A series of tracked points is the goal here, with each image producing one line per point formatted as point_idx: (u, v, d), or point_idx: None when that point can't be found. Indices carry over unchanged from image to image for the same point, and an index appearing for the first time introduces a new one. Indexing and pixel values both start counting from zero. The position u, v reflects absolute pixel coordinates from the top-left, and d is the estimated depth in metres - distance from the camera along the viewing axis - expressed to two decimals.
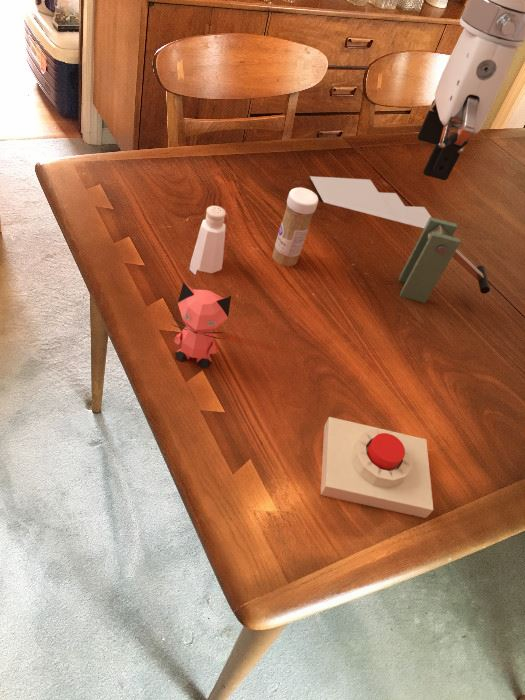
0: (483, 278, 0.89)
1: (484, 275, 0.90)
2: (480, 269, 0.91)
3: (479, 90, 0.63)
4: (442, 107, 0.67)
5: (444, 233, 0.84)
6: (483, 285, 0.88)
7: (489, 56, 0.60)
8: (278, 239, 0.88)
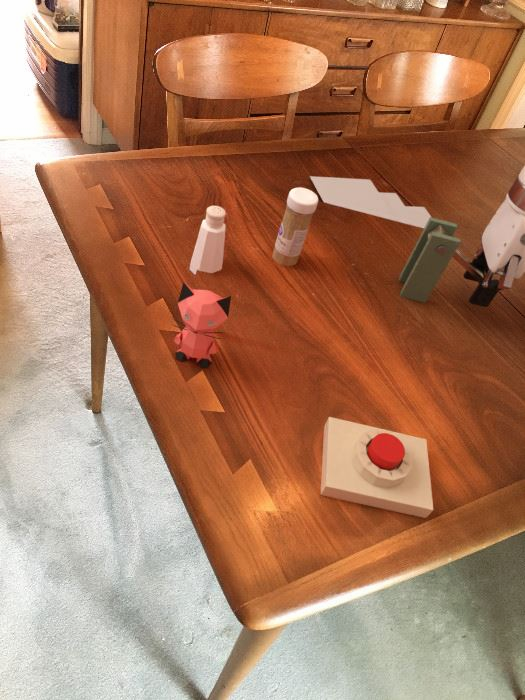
0: (483, 278, 0.89)
1: (484, 275, 0.90)
2: (480, 269, 0.91)
3: (522, 252, 0.80)
4: (490, 257, 0.84)
5: (444, 233, 0.84)
6: None
7: None
8: (278, 239, 0.88)
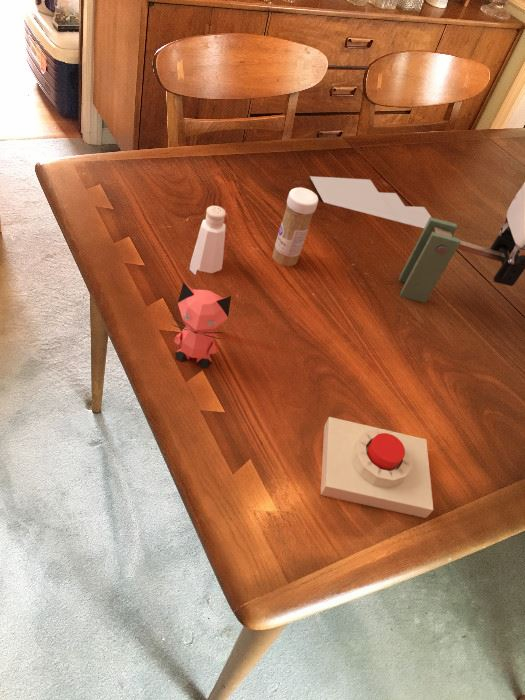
0: (504, 257, 0.86)
1: (505, 254, 0.86)
2: (501, 249, 0.87)
3: None
4: (517, 232, 0.80)
5: (440, 233, 0.84)
6: None
7: None
8: (278, 239, 0.88)
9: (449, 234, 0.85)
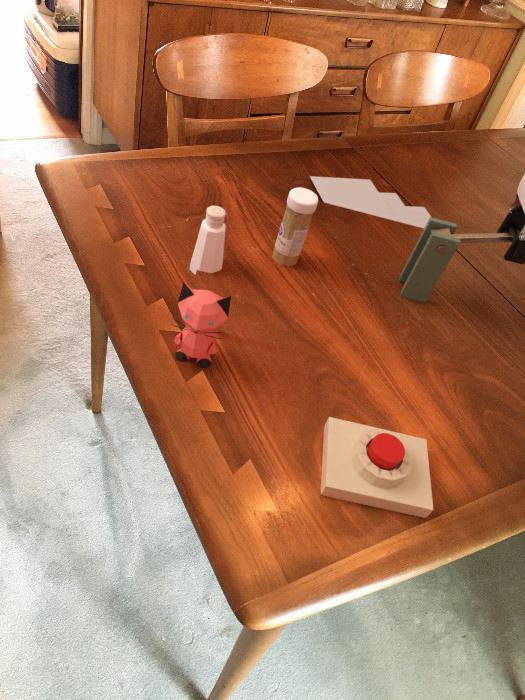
0: (512, 237, 0.83)
1: (513, 233, 0.83)
2: (509, 229, 0.85)
3: None
4: None
5: None
6: None
7: None
8: (278, 239, 0.88)
9: (447, 232, 0.84)
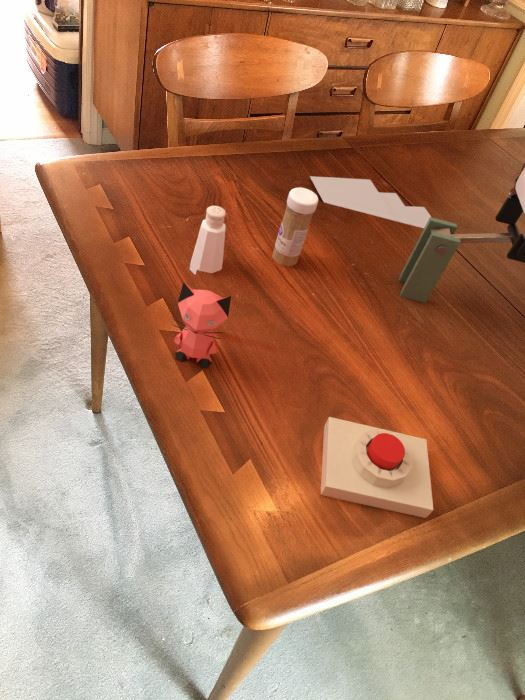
0: (512, 237, 0.83)
1: (513, 233, 0.83)
2: (509, 229, 0.85)
3: None
4: None
5: None
6: None
7: None
8: (278, 239, 0.88)
9: (447, 232, 0.84)
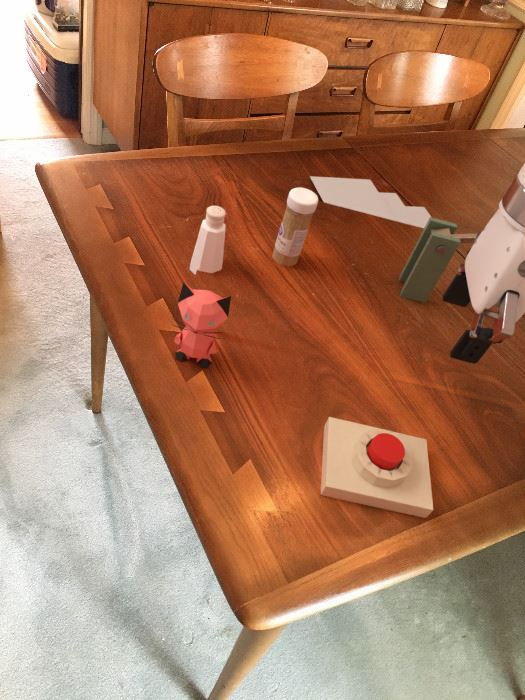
0: None
1: None
2: None
3: (520, 286, 0.54)
4: (475, 291, 0.59)
5: None
6: None
7: None
8: (278, 239, 0.88)
9: (447, 232, 0.84)
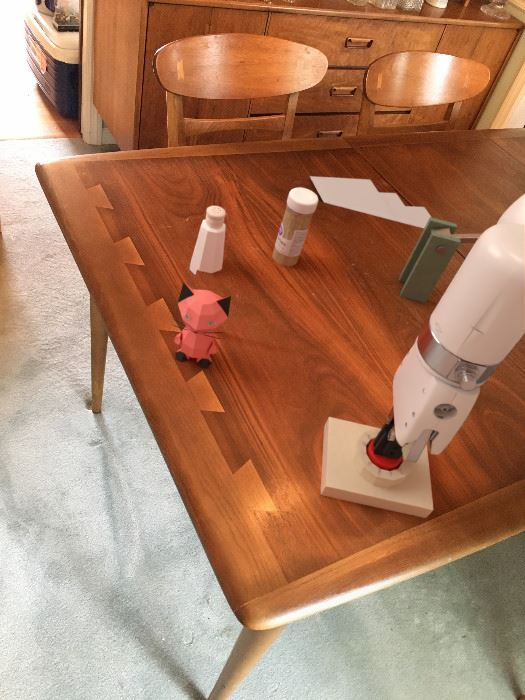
0: None
1: None
2: None
3: (438, 426, 0.53)
4: (397, 422, 0.57)
5: None
6: None
7: (448, 400, 0.51)
8: (278, 239, 0.88)
9: (447, 232, 0.84)
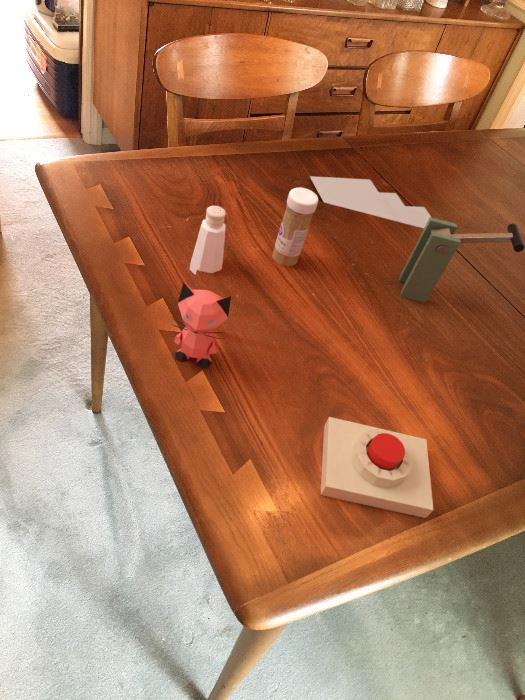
0: (512, 237, 0.83)
1: (513, 233, 0.83)
2: (509, 229, 0.85)
3: None
4: None
5: None
6: (514, 245, 0.82)
7: None
8: (278, 239, 0.88)
9: (447, 232, 0.84)
